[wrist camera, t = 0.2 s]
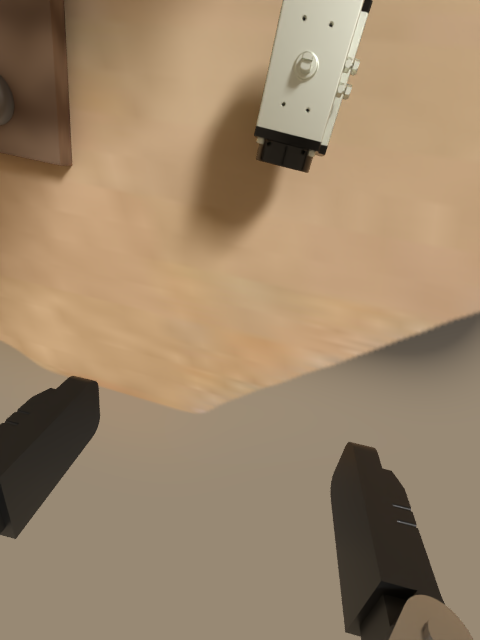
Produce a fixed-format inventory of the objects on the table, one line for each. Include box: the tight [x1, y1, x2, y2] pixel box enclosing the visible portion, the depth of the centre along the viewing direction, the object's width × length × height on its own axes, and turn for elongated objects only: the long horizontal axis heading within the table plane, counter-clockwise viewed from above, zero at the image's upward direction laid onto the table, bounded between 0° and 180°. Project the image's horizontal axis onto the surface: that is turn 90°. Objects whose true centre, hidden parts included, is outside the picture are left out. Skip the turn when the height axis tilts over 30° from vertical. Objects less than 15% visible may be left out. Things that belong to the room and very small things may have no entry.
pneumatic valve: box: [254, 0, 372, 173], centre depth 25 cm, size 6×12×12 cm, turn 167°
